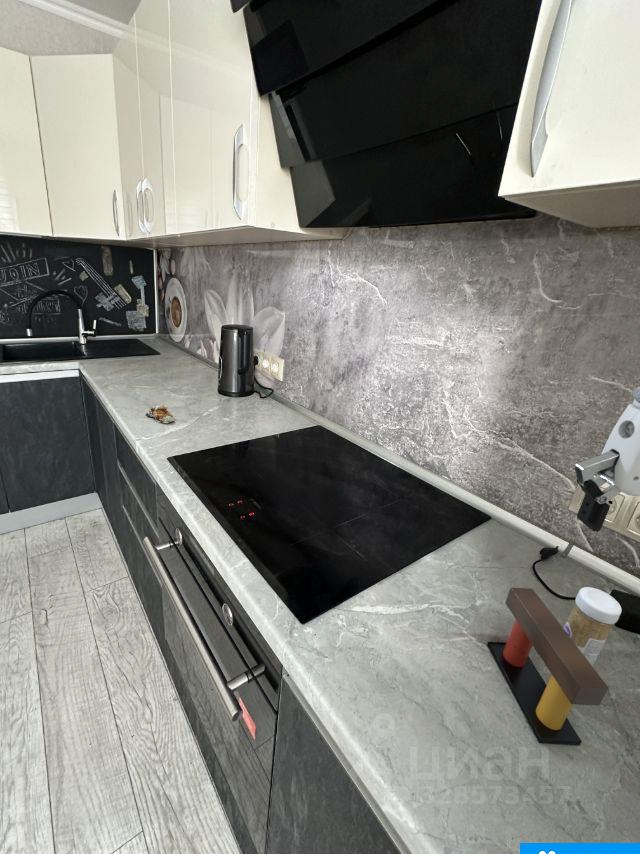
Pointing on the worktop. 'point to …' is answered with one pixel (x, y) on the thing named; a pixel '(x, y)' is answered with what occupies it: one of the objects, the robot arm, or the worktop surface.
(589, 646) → the sprinkles bottle
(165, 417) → the brown grey rock
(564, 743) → the rod stand
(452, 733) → the worktop surface
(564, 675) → the walnut bar
